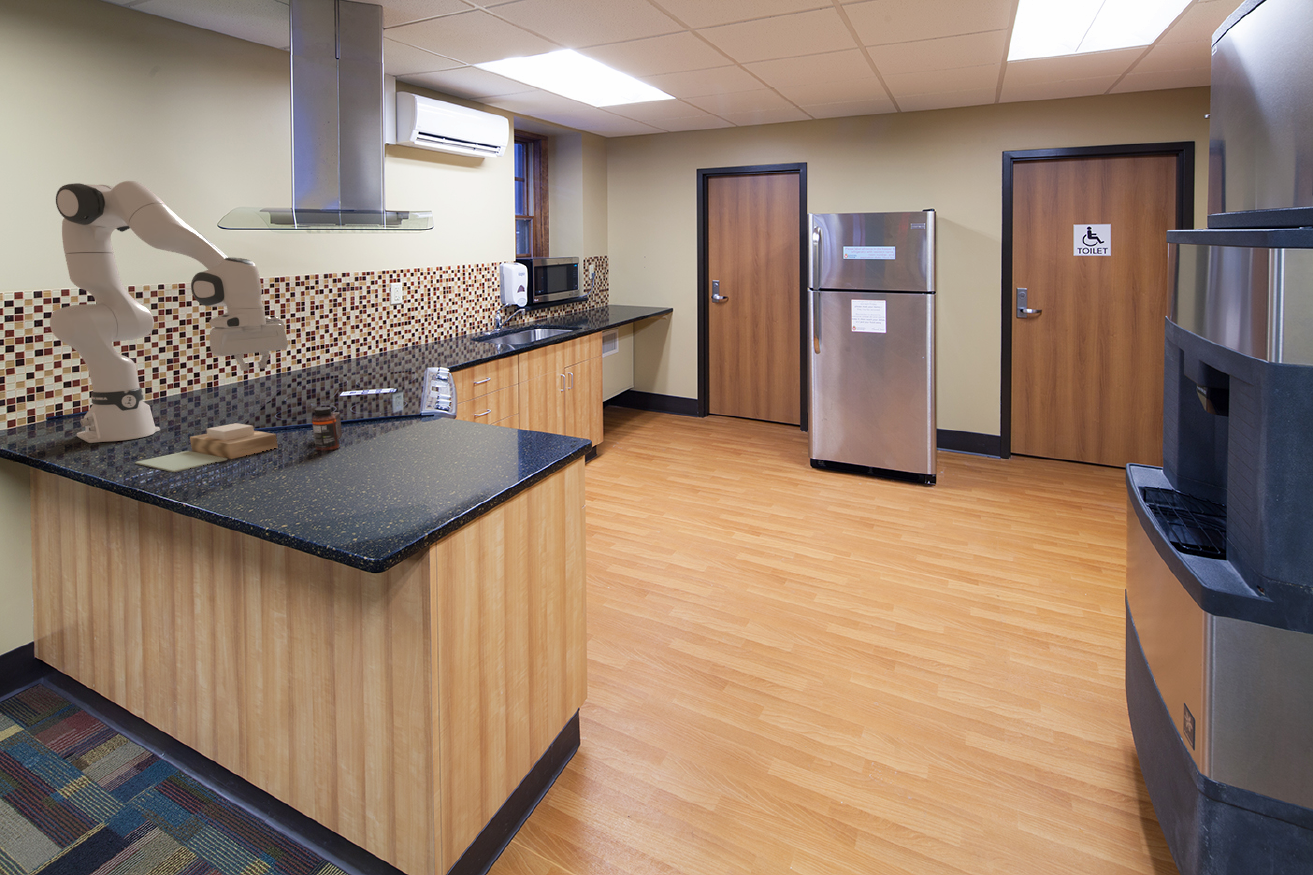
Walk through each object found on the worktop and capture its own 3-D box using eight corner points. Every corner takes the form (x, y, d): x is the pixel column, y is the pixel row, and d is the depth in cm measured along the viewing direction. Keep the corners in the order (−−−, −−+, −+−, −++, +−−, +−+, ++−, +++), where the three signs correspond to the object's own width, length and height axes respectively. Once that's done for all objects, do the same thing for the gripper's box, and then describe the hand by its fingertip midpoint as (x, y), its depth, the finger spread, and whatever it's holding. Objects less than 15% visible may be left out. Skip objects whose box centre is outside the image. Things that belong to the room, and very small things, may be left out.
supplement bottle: (332, 445, 200) (328, 405, 197) (343, 448, 196) (339, 407, 194) (311, 449, 195) (306, 408, 193) (322, 452, 192) (317, 411, 189)
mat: (135, 463, 182) (135, 461, 182) (188, 452, 194) (188, 450, 193) (174, 472, 174) (173, 470, 174) (227, 459, 185) (227, 458, 185)
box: (315, 442, 204) (312, 416, 202) (320, 437, 210) (317, 412, 208) (338, 440, 205) (335, 415, 203) (342, 436, 211) (340, 411, 209)
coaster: (207, 437, 193) (206, 428, 192) (237, 431, 200) (235, 423, 199) (225, 440, 189) (223, 431, 188) (254, 434, 196) (253, 425, 195)
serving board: (192, 451, 194) (189, 437, 193) (239, 441, 205) (237, 427, 204) (231, 459, 186) (228, 444, 185) (277, 448, 197) (275, 434, 196)
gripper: (275, 316, 205) (281, 364, 208) (202, 321, 188) (210, 373, 191) (289, 316, 202) (295, 365, 205) (216, 321, 185) (224, 374, 188)
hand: (254, 369), depth 198 cm, fingers open, 4 cm apart
